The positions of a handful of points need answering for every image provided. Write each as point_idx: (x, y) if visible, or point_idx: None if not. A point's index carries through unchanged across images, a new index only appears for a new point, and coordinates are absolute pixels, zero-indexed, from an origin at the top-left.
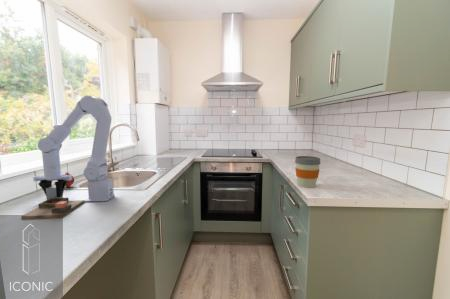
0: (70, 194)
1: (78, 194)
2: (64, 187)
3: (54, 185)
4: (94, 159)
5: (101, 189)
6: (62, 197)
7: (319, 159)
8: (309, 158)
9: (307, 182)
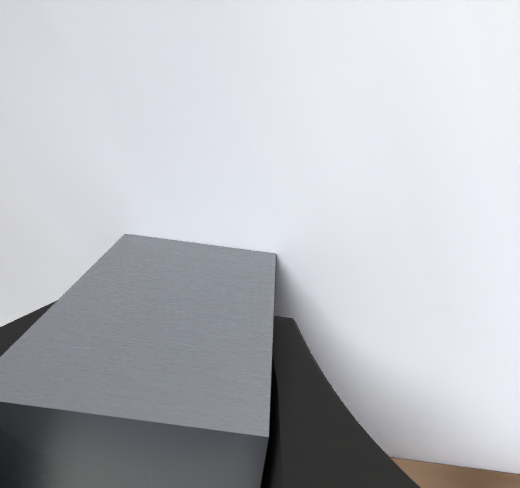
0: (318, 23)
1: (486, 61)
2: (356, 426)
3: (51, 422)
4: None
5: None
6: (273, 266)
7: None
8: None
9: None
